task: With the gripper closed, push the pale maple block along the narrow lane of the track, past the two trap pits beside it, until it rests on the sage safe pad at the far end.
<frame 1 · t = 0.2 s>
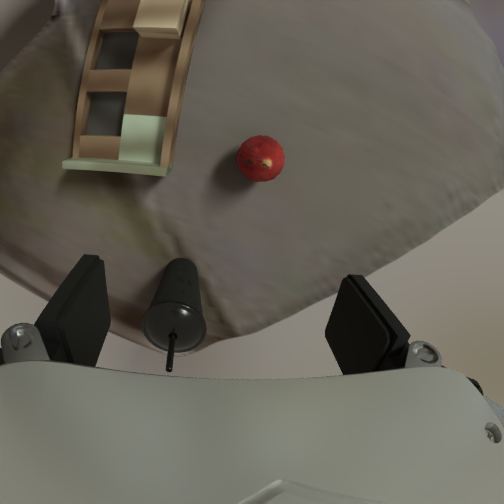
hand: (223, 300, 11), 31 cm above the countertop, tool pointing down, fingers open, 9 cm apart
onion: (256, 154, 39), on the countertop
block: (165, 21, 27), point 2 cm above the countertop, touching track
drinking cup: (182, 271, 45), on the countertop
track: (135, 79, 32), on the countertop
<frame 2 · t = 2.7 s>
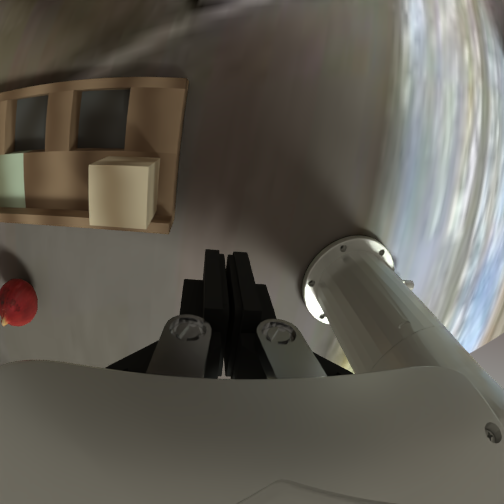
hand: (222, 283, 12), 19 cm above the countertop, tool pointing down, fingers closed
onion: (30, 286, 31), on the countertop
block: (132, 183, 25), point 2 cm above the countertop, touching track
track: (71, 148, 25), on the countertop
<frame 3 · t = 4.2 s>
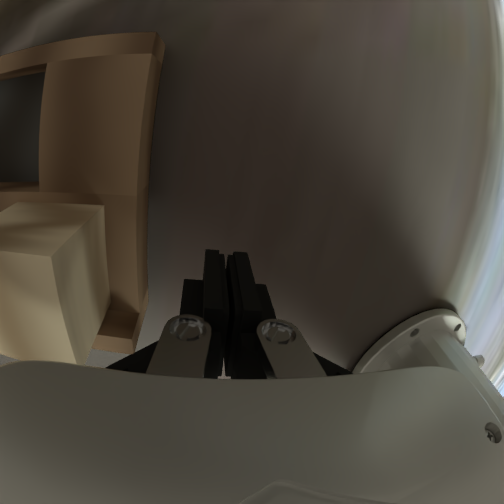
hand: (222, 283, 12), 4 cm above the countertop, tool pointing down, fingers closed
block: (61, 253, 12), point 2 cm above the countertop, touching track
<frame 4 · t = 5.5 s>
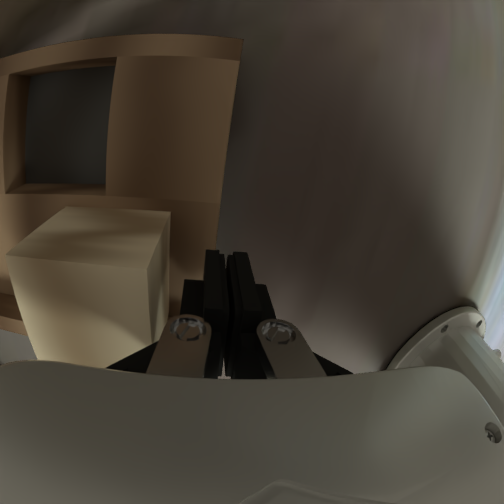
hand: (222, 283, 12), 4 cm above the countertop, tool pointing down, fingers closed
block: (117, 260, 13), point 3 cm above the countertop, touching gripper
track: (17, 182, 12), on the countertop
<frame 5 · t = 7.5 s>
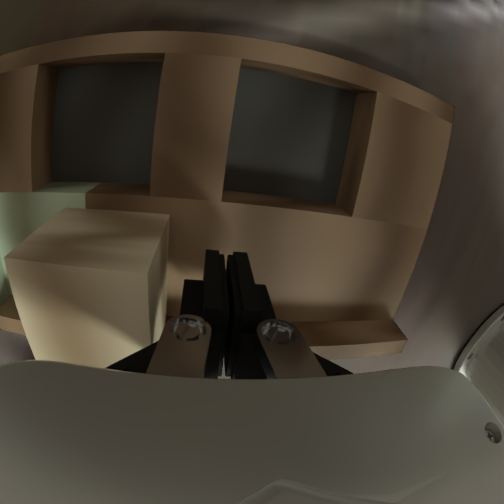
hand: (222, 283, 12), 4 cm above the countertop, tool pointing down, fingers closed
block: (115, 262, 13), point 3 cm above the countertop, touching gripper
track: (199, 186, 14), on the countertop
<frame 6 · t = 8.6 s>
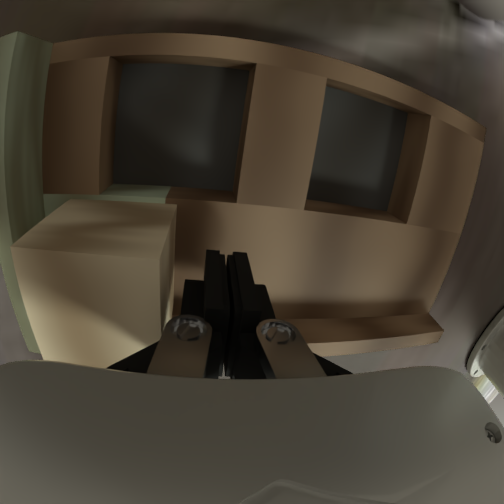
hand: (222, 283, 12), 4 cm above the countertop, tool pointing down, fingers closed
block: (121, 253, 13), point 2 cm above the countertop, touching gripper, track
track: (270, 193, 15), on the countertop
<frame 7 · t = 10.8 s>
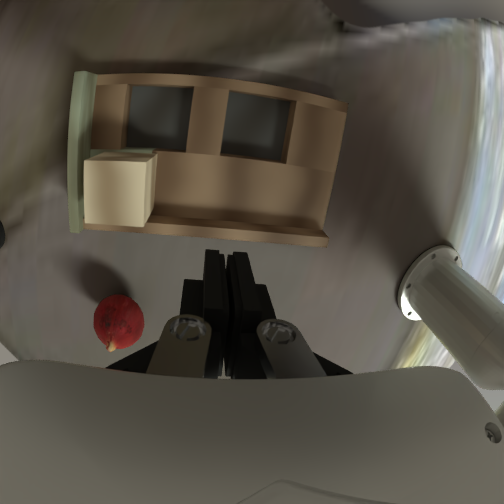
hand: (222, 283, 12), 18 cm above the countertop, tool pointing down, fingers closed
onion: (125, 301, 33), on the countertop
block: (129, 179, 24), point 2 cm above the countertop, touching track
track: (208, 151, 27), on the countertop
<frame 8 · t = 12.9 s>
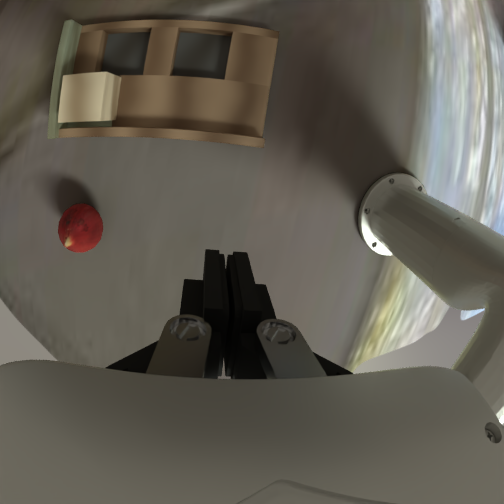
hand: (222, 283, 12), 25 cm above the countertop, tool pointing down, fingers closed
onion: (91, 217, 35), on the countertop
block: (98, 99, 26), point 2 cm above the countertop, touching track
track: (164, 78, 29), on the countertop
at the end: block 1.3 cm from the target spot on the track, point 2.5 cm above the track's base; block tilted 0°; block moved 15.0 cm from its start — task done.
